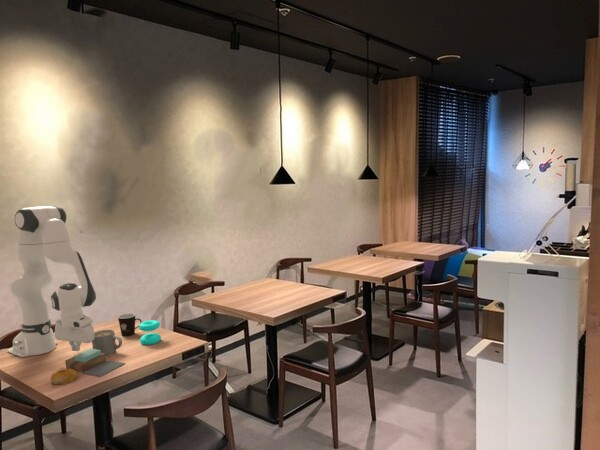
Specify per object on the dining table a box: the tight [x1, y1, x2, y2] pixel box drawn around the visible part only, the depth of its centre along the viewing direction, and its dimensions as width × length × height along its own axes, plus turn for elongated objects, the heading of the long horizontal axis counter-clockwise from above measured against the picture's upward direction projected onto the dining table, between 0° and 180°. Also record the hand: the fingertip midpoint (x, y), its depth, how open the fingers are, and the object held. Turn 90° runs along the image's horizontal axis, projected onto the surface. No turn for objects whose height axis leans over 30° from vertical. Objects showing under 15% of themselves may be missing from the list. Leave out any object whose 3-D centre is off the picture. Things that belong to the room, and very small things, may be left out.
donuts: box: [138, 319, 162, 346], centre depth 236 cm, size 10×10×10 cm
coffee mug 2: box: [117, 313, 143, 338], centre depth 248 cm, size 12×9×10 cm
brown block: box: [64, 353, 107, 373], centre depth 209 cm, size 11×12×4 cm
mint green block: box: [73, 348, 101, 362], centre depth 209 cm, size 6×9×2 cm, turn 157°
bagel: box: [50, 368, 78, 385], centre depth 195 cm, size 10×11×5 cm
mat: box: [82, 359, 126, 378], centre depth 206 cm, size 10×14×1 cm
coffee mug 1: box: [91, 329, 123, 358], centre depth 222 cm, size 13×10×10 cm
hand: (76, 350), depth 212 cm, fingers closed
